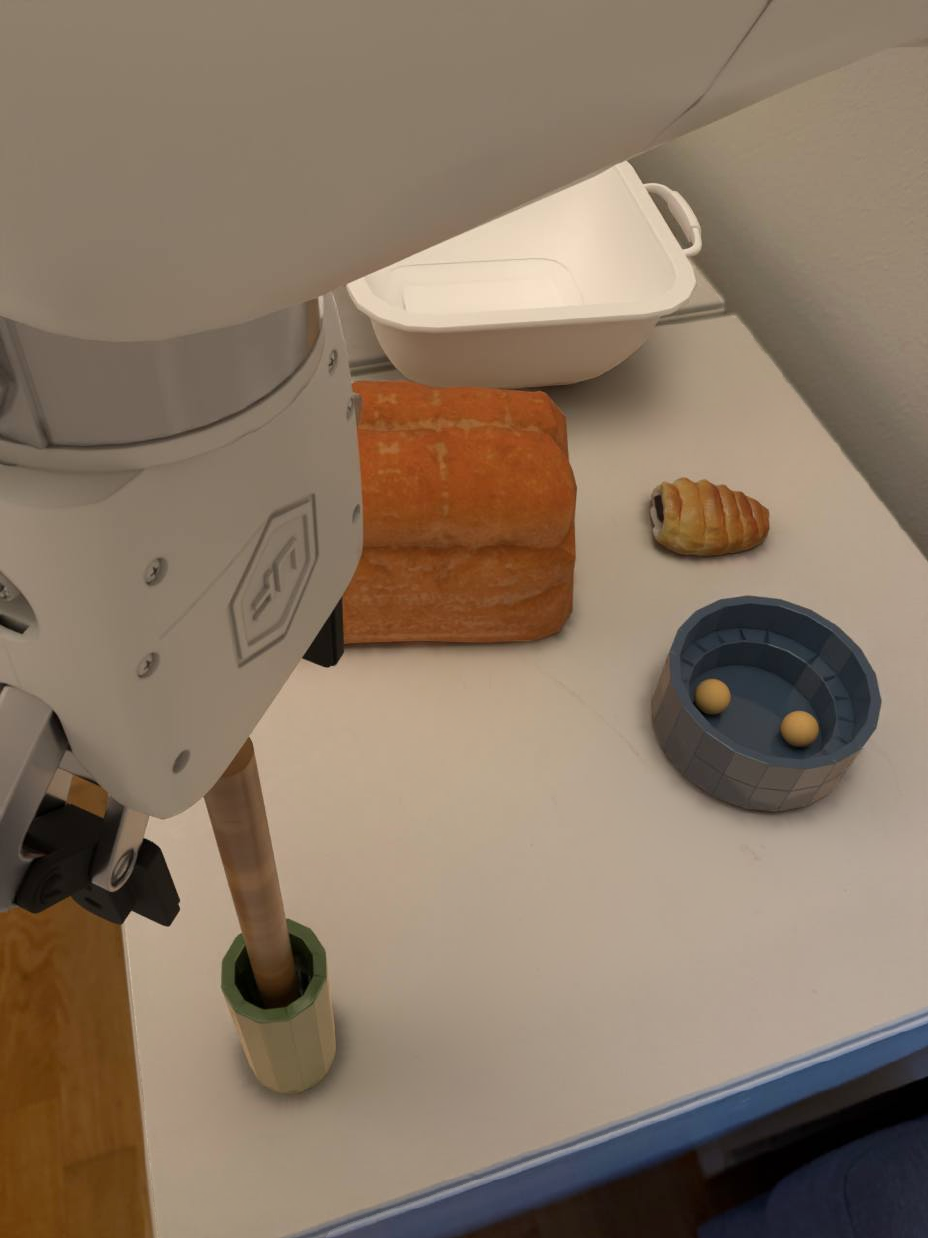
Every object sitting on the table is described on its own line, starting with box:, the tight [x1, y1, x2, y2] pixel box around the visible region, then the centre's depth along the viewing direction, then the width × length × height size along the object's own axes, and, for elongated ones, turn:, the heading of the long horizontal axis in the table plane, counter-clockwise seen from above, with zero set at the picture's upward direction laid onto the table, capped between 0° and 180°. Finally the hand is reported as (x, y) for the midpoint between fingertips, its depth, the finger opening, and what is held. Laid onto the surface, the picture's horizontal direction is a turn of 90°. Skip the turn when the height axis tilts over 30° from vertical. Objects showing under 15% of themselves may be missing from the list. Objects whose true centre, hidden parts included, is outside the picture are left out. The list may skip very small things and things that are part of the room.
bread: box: [342, 380, 578, 645], centre depth 69 cm, size 14×27×15 cm, turn 94°
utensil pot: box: [220, 918, 337, 1095], centre depth 49 cm, size 5×5×12 cm
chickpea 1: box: [694, 679, 731, 714], centre depth 68 cm, size 2×2×2 cm
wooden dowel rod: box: [203, 736, 301, 1009], centre depth 42 cm, size 2×2×30 cm
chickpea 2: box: [781, 711, 819, 747], centre depth 67 cm, size 2×2×2 cm
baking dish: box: [345, 160, 703, 390], centre depth 89 cm, size 34×28×13 cm
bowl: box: [651, 595, 882, 812], centre depth 66 cm, size 13×13×6 cm
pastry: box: [649, 476, 770, 557], centre depth 79 cm, size 9×7×4 cm
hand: (221, 760), depth 31 cm, fingers open, 9 cm apart
